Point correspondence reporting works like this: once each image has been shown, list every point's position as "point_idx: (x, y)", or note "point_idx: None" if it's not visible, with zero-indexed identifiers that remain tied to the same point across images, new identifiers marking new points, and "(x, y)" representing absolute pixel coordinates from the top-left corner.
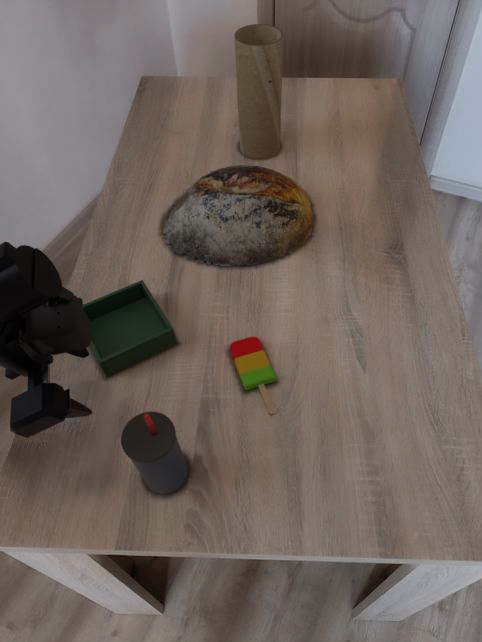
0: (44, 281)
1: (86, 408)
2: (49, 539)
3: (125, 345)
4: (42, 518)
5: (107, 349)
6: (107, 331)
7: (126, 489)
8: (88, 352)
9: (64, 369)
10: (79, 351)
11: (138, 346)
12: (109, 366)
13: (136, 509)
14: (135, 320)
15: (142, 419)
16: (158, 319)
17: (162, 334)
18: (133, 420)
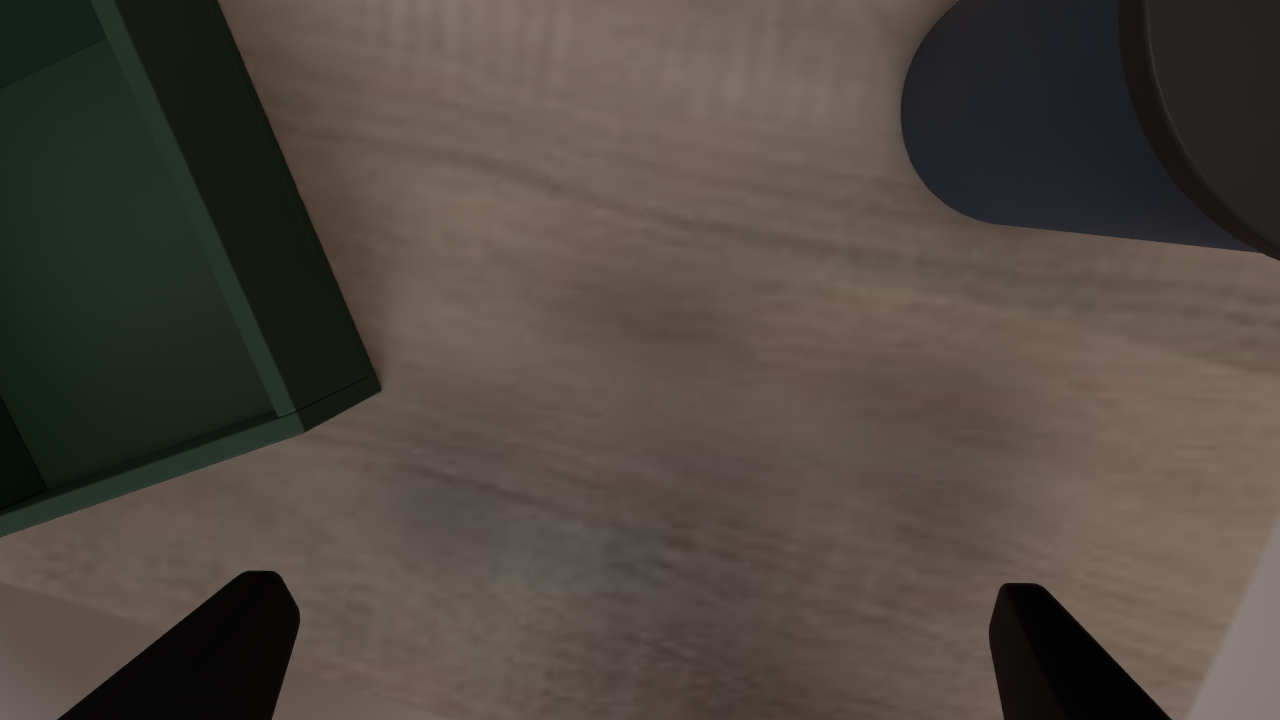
0: None
1: (1096, 688)
2: (1184, 676)
3: (194, 281)
4: None
5: (212, 378)
6: (99, 373)
7: (1051, 324)
8: (240, 582)
9: (311, 587)
10: (221, 699)
11: (205, 185)
12: (326, 373)
13: (1180, 279)
14: (32, 216)
15: (1240, 15)
16: (28, 78)
17: (121, 10)
18: (1216, 129)
